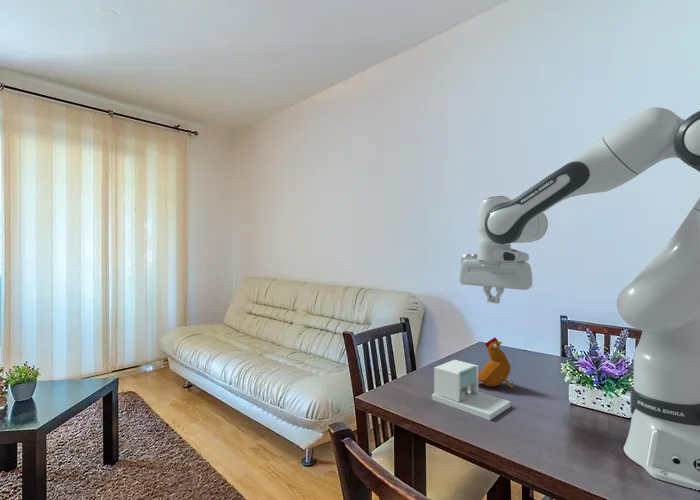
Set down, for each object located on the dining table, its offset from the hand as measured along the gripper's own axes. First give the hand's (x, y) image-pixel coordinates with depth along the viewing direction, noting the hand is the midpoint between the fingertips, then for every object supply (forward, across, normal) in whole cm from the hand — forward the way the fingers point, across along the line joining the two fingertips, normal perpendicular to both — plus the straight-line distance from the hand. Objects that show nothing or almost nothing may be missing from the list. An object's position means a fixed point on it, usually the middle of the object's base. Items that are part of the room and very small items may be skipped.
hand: (493, 302), depth 107 cm
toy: (+29, -7, +13) cm, 33 cm away
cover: (+27, -9, -4) cm, 29 cm away
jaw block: (+28, -9, -4) cm, 29 cm away
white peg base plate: (+29, -5, -4) cm, 30 cm away
